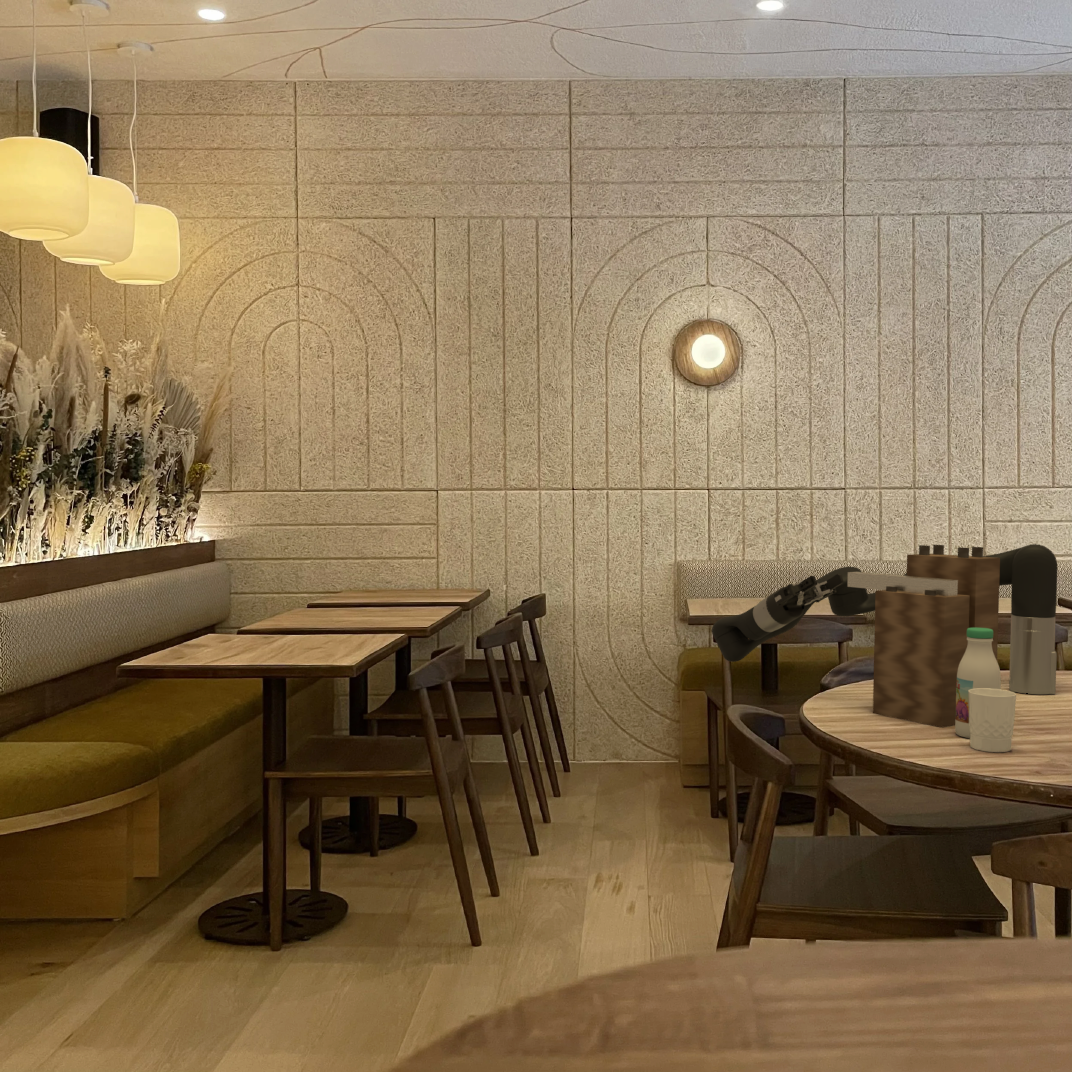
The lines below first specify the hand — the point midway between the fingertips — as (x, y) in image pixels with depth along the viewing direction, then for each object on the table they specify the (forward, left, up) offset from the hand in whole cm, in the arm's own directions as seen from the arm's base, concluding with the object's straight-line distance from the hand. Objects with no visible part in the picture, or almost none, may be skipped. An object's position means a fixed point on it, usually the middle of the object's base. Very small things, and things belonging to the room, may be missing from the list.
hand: (828, 578), depth 245 cm
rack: (-21, +11, -26) cm, 35 cm away
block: (-14, +12, -1) cm, 18 cm away
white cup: (-28, +39, -26) cm, 55 cm away
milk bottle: (-27, +29, -26) cm, 48 cm away
